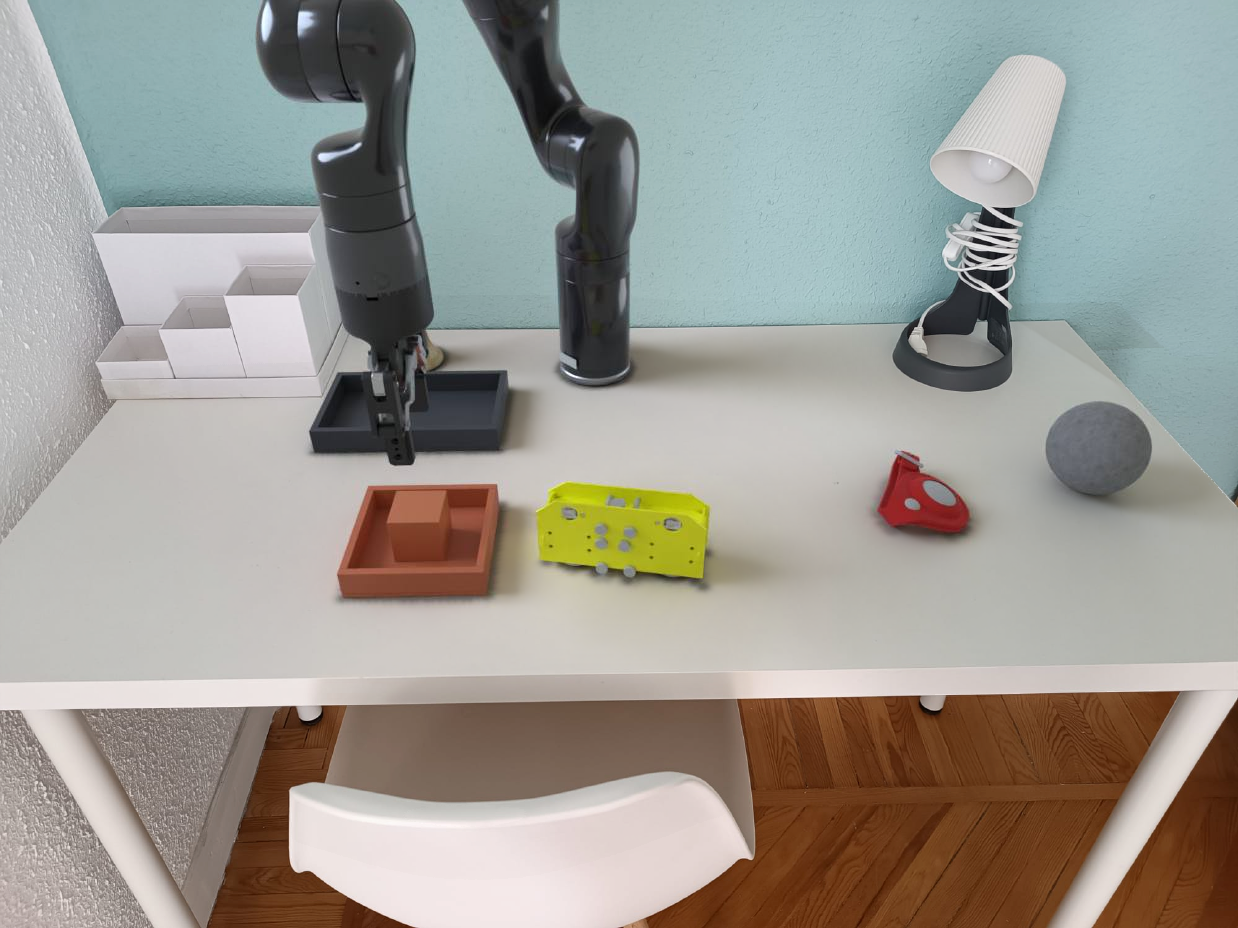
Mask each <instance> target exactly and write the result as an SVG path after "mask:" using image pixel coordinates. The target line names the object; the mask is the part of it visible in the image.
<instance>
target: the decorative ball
mask: <svg viewBox="0 0 1238 928" xmlns="http://www.w3.org/2000/svg"><path fill="white" fill-rule="evenodd" d="M1152 452H1153V442H1152V437H1151V434H1150V431H1149V429H1148V427H1147V425H1146V424H1145V422H1144V421H1143V420H1142V418H1141V417H1139V415H1137V414H1136V413H1135V412H1134V411H1132V410H1131V409H1129V408H1128V407H1126V406H1123V405H1121V404H1118V403H1115V402H1111V401H1102V400H1101V401H1100V400H1099V401H1096V400H1095V401H1089V402H1083V403H1080V404H1078V405H1075V406H1073V407H1071V408H1068V410H1066V411H1065V412H1063V413H1062V414H1060V415H1059V417H1057V418H1056V419H1055V420H1054V422H1053V424H1052V425H1051V427H1050V428H1049V431H1048V433H1047V435H1046V440H1045V458H1046V461H1047V464H1048V466H1049V468H1050V470H1051V471H1052V473H1053V474H1054V475H1055V477H1056V478H1058V480H1059V481H1060V482H1061V483H1062V484H1064V485H1065V486H1067V487H1069V488H1070V489H1072V490H1074V491H1077V492H1080V493H1083V494H1087V495H1088V494H1089V495H1098V496H1099V495H1108V494H1109V495H1110V494H1113V493H1117V492H1120V491H1122V490H1124V489H1126V488H1128V487H1129V486H1132V485H1133V484H1134V483H1135V482H1136V481H1137V480H1138V479H1140V478H1141V476H1142V475H1143V474H1144V473H1145V472H1146V470H1147V468H1148V466H1149V465H1150V461H1151V458H1152Z"/></svg>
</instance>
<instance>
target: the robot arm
mask: <svg viewBox="0 0 1238 928" xmlns="http://www.w3.org/2000/svg"><path fill="white" fill-rule="evenodd" d="M461 1H462V4H463V6H464V8H465V9H466V11H467V14H468V15H469V17H470V19H471V21H472V22H473V24H474V26H475V27H476V30H477V31H478V33H479V34H480V36H481V38H482V40H483V42H484V45H485V46H486V49H487V50H488V52H489V54H490V56H491V58H492V60H493V62H494V64H495V65H496V67H497V70H498V72H499V73H500V75H501V77H502V79H503V80H504V82H505V84H506V86H507V89H508V90H509V92H510V94H511V96H512V98H513V101H514V103H515V105H516V108H517V110H518V112H519V113H518V114H519V116H520V118H521V120H522V123H523V126H524V129H525V131H526V134H527V135H528V138H529V141H530V144H531V146H532V149H533V151H534V153H535V156H536V157H537V160H538V163H539V164H540V166H541V168H542V170H543V171H544V173H545V174H546V175H547V176H548V177H549V178H550V179H551V180H553V181H554V182H555V183H557V184H559V185H560V186H563V187H566V188H567V189H570V190H572V191H575V211H574V214H572V215H569V216H566V217H564V218H562V219H561V220H560V221H558V223H557V224H556V225H555V228H554V249H555V267H556V268H555V269H556V270H555V271H556V288H557V306H558V307H557V311H558V327H559V369H560V373H561V375H562V376H563V377H564V378H565V379H567V380H569V381H570V382H572V383H575V384H579V385H584V386H604V385H606V386H607V385H610V384H613V383H616V382H618V381H621V380H623V379H624V378H625V377H626V376H628V374H629V373H630V371H631V358H630V345H631V343H630V342H631V331H630V330H631V236H632V233H633V230H634V228H635V224H636V220H637V216H638V202H639V201H638V200H639V186H640V185H639V183H640V168H641V155H640V154H641V153H640V145H639V140H638V136H637V134H636V131H635V129H634V127H633V125H632V124H631V123H630V122H629V121H628V120H627V119H625V118H623V117H622V116H618V115H617V114H612V113H610V112H606V111H603V110H599V109H596V108H594V107H593V108H592V107H589V106H588V105H587V104H586V102H585V101H584V100H583V98H582V97H581V95H580V94H579V91H577V88H576V86H575V85H574V83H573V81H572V79H571V76H570V74H569V72H568V70H567V68H566V65H565V62H564V60H563V57H562V53H561V46H560V33H561V31H560V30H561V3H560V0H461ZM254 37H255V50H256V51H255V52H256V55H257V60H258V63H259V66H260V69H261V72H262V73H263V75H264V77H265V79H266V80H267V82H268V83H269V85H270V86H271V87H272V89H273V90H275V91H276V92H277V93H278V94H280V95H281V96H282V97H284V98H285V99H287V100H291V101H294V102H298V103H304V104H305V103H306V104H364V106H365V112H366V113H365V114H366V115H365V121H364V125H363V126H361V127H358V128H355V129H350V130H345V131H340V132H337V133H334V134H331V135H327V136H326V137H323V138H321V139H320V140H318V141H317V142H316V143H315V144H314V146H313V147H312V149H311V151H310V166H311V172H312V177H313V182H314V186H315V189H316V190H315V191H316V195H317V196H316V197H317V200H318V204H319V209H320V213H321V217H322V221H323V228H324V241H325V250H326V256H327V260H328V266H329V268H330V275H331V278H332V282H333V288H334V291H335V295H336V296H335V297H336V300H337V301H336V302H337V304H338V309H339V314H340V318H341V323H342V326H343V328H344V330H345V332H347V333H348V334H349V335H350V336H352V337H354V338H356V339H359V340H362V341H364V342H365V343H367V344H368V345H369V346H370V349H368V350H367V352H366V367H367V368H368V370H369V371H368V370H367V371H365V370H364V371H361V372H362V376H361V381H362V384H363V389H364V394H365V399H366V404H367V409H368V415H369V420H370V425H371V432H372V435H373V437H374V438H380V437H384V440H385V445H386V450H387V452H386V455H387V459H388V463H389V464H390V465H392V466H394V467H399V466H401V467H403V466H413V465H414V464H415V461H416V451H414V445H413V440H412V435H411V429H410V419H409V412H426V411H428V409H429V406H430V402H429V396H428V390H427V384H426V378H425V375H422V374H426V370H427V365H426V362H425V359H426V358H428V355H429V349H428V347H427V341H426V336H425V330H424V329H425V328H426V329H427V328H428V327H429V326H430V325H431V324H432V323H433V320H434V318H435V308H434V303H433V295H432V289H431V283H430V275H429V269H428V261H427V256H426V250H425V249H426V248H425V244H424V238H423V234H422V231H421V228H420V227H421V226H420V224H419V221H418V216H417V212H416V206H415V200H414V195H413V194H414V193H413V187H412V181H411V175H410V168H409V167H410V166H409V152H408V151H409V123H410V122H409V121H410V109H411V101H412V94H413V85H414V80H415V72H416V63H417V62H416V61H417V42H416V36H415V31H414V28H413V26H412V22H411V20H410V19H409V16H408V15H407V13H406V11H405V10H404V8H403V7H402V6H401V5H400V3H399V2H398V1H397V0H262V1H261V4H260V8H259V11H258V14H257V18H256V25H255V36H254ZM398 388H402V392H403V393H401V394H399V391H398ZM386 414H392V415H393V417H386Z"/></svg>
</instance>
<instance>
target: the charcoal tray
mask: <svg viewBox="0 0 1238 928" xmlns="http://www.w3.org/2000/svg"><path fill="white" fill-rule="evenodd" d="M362 372H363V371H338V372H336V375H335V377H334V379H333V381H332V382H331V385H330V387H329V389H328V391H327V393H326V396H325V397H324V399H323V402H322V404H321V405H320V408H319V410H318V412H317V414H316V416H315V418H314V420H313V422H312V424H311V427H310V428H309V430H308V433H309V437H310V438H309V439H310V441H311V445H312V449H313V453H316V454H317V453H322V454H323V453H379V452H380V453H384V452H386V453H387V450H386V445H385V440H384V437H380V438H374V437H373V435H372V432H371V425H370V420H369V415H368V409H367V404H366V399H365V394H364V389H363V384H362V381H361V376H362ZM422 375H425V378H426V384H427V390H428V396H429V402H430V406H429V409H428V411H426V412H409V419H410V429H411V435H412V440H413V445H414V451H415V452H456V451H457V452H458V451H459V452H460V451H461V452H463V451H468V452H469V451H471V452H473V451H500V447H501V442H502V436H503V435H502V434H503V429H504V423H505V417H506V411H507V405H508V398H509V391H510V388H509V376H508V370H507V369H495V370H494V369H492V370H491V369H490V370H489V369H488V370H486V369H485V370H484V369H483V370H482V369H481V370H479V369H478V370H429V371H426V374H422ZM398 391H399V394H401V393H403V392H402V388H398ZM386 417H393V415H392V414H386Z"/></svg>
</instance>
